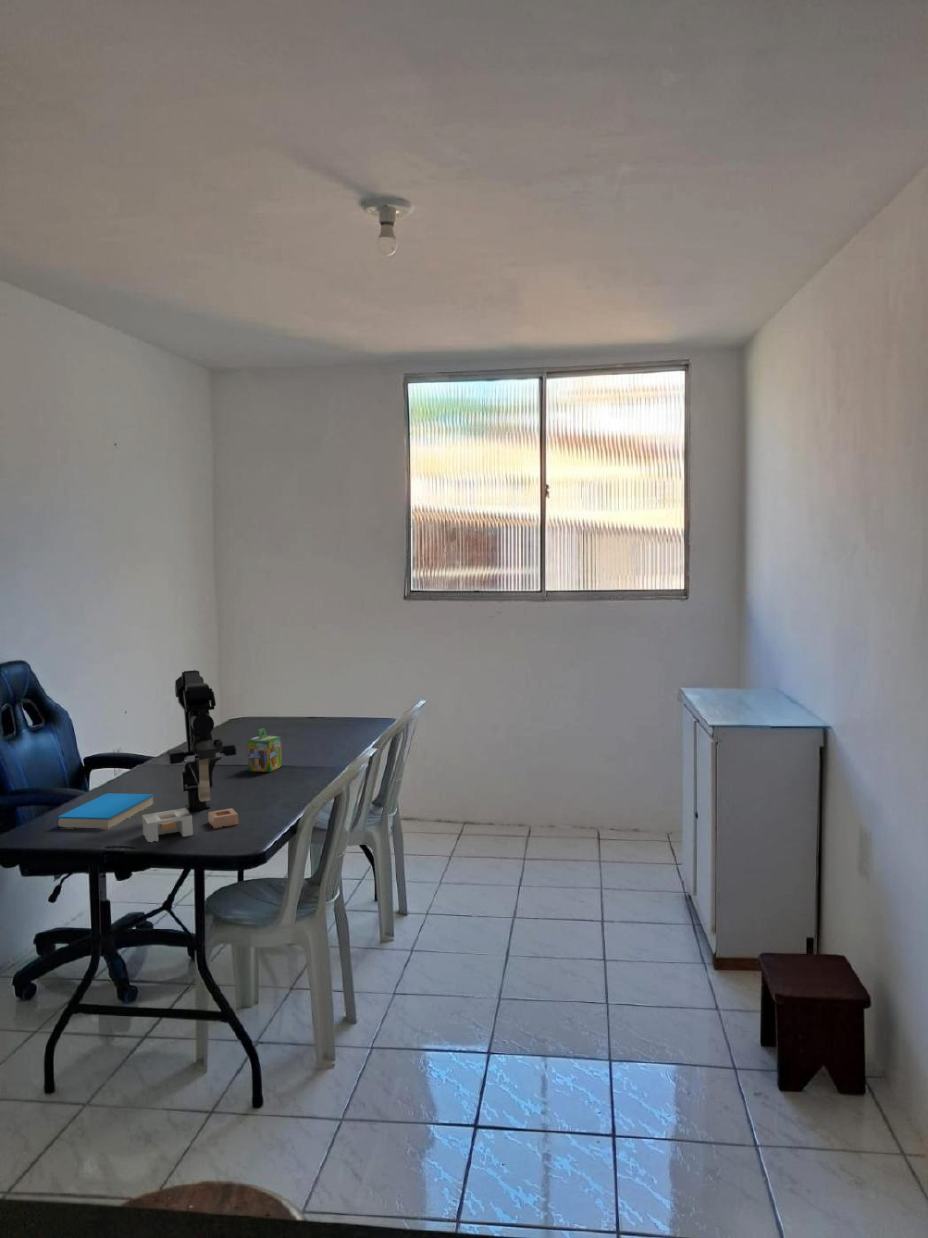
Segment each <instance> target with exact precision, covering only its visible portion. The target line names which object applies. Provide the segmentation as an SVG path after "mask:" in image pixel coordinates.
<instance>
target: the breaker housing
mask: <svg viewBox="0 0 928 1238" xmlns="http://www.w3.org/2000/svg"><path fill="white" fill-rule="evenodd" d="M141 819H142V820H141V822H142V835H143V836H145V837H144V838H145V840H146V842H147V841H148V842H151V843H154V842H153V841H156V842H159V841H160V840H159V836H160V835H161V836H162V835H165V834H166V833H167V834H172V833H177V832H179V834H180V835H181V836H182V837H189V836H193V835H194V832H193V831H194V830H193V815H192V814H191V813H190V811H188V810H187V809H186V807H183V808H178V809H171V810H166V811H165V810H164V811H159V812H153V813H147V814H142V815H141ZM170 822H176V828H171V829H165V830H162V828H161V827H160V824H164V823H170ZM148 842H147V843H148Z"/></svg>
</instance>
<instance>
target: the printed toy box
mask: <svg viewBox="0 0 928 1238" xmlns="http://www.w3.org/2000/svg"><path fill="white" fill-rule="evenodd" d="M262 732H263V735H262ZM257 733H258V735H257V736H255V737H252V738H249V739H247V740H246V745H247V749H246V750H247V759H248V760H247V761H248V772H254V773H256V772H262V773H264V772H265V773H271V772H274V771H275V770H278V769H280V767H281V768H283V758H282V757H283V756H282V755H283V754H282V740H281V739H282V736H275V735H267V731H266V728H265V727H262V728H260V729H258V730H257Z"/></svg>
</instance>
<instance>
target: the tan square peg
mask: <svg viewBox="0 0 928 1238" xmlns="http://www.w3.org/2000/svg"><path fill="white" fill-rule="evenodd" d="M196 760H197V768H198V774H199V784H198V792H199V800H200V801H201V802H202V801H207V802H208V801H211V792H210V790H211V788H210V786H209V770H208V759H204V760H200V759H199V758H197V759H196Z"/></svg>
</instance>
